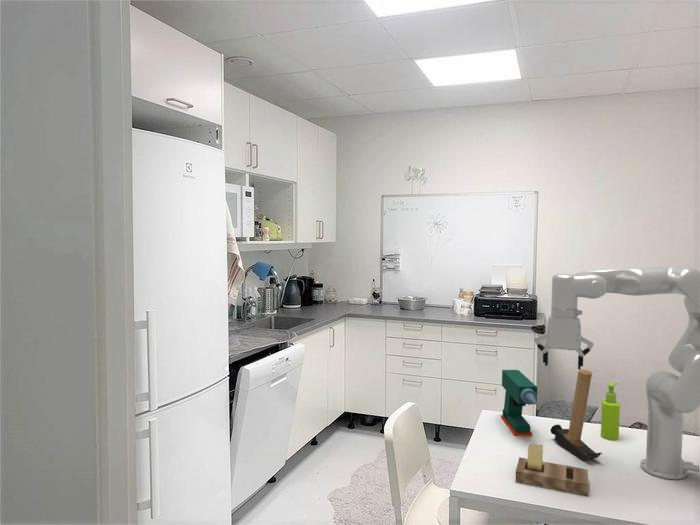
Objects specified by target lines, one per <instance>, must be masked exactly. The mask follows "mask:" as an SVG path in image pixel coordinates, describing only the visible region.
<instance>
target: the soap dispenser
mask: <svg viewBox="0 0 700 525" xmlns="http://www.w3.org/2000/svg"><path fill="white" fill-rule="evenodd" d="M617 385H618V383H616V382H609V383H608V384H607V388H608V391H606V393H605V399H603V400H601V418H600V419H601V420H600V421H601V422H600V438H602V439H604V440H607V441H619V438H620V436H619V435H620V416H621V415H620V409H621V407H620V406H621V403H620V402H618V401H617V393H616V392H615V391H614V390H615V386H617Z"/></svg>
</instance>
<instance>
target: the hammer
mask: <svg viewBox="0 0 700 525" xmlns="http://www.w3.org/2000/svg"><path fill="white" fill-rule="evenodd" d="M592 375H593V372H592V371H591V370H588V369H583V368H580V369H578V372H577V379H576V384H575V390H574V396H573V400H572V401H573V403H572V407H571V409H572V410H571V414H570V419H569V420H570V421H569V426H568V428H562V425H560V424H554V425H553V426H551V428H550V430H549V431H550V433H551V434H552V435H554V441H555V442H556V443H557V444H558V445H559V446H561V448H563V449H564V450H565V451H567V452H568V453H569V454H571V455H573V456H574V457H576V458H577V459H579V460H581V461H585V460H594V459H597V458H599V457H600V456H601V455H602V454H603V452H596V451H594V450H593V449H592V448H591V447H589V446H588V445H587V444H586V443H585V442H584V441H583V440H581V439H582V433H583V427H584V424H585V416H586V410H587V404H588V400H589V393H590V388H591V387H590V386H591V381H592V377H593V376H592Z"/></svg>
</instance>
